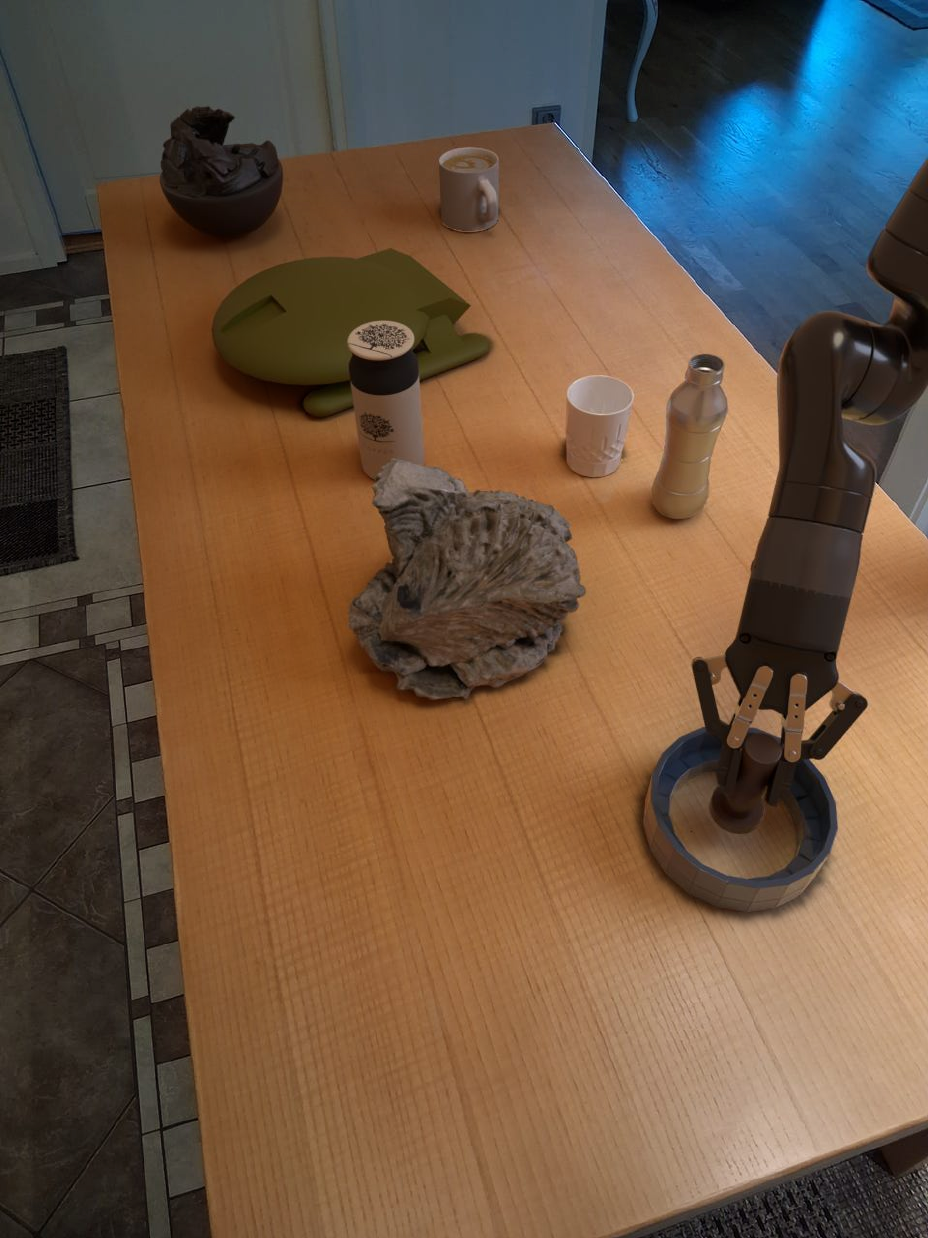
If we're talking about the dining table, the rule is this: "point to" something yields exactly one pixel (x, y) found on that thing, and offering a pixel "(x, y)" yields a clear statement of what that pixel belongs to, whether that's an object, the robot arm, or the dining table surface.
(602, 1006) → the dining table surface
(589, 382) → the white cup
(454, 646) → the rock
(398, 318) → the spaceship
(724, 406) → the plastic bottle
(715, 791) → the dark brown peg stand
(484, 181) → the coffee mug
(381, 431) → the travel mug
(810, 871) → the faceted gray band ring
